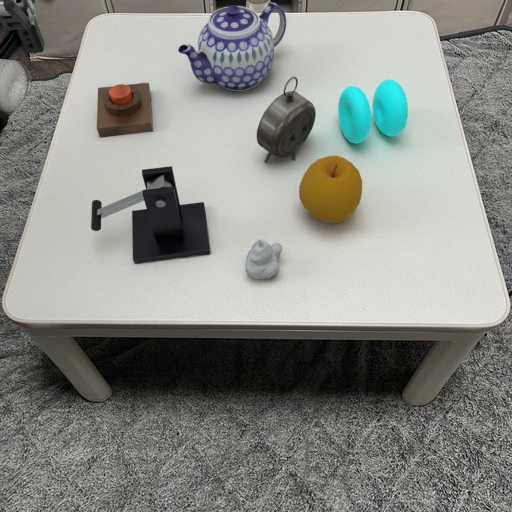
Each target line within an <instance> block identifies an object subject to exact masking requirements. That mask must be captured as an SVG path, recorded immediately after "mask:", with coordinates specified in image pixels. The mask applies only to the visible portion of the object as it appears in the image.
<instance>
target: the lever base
mask: <svg viewBox="0 0 512 512" xmlns="http://www.w3.org/2000/svg"><path fill="white" fill-rule="evenodd" d="M162 175H164V176H165V177H166V179H167V180H168V181H169V182H170V183H171V184H172V187H163V188H155V189H147V182H148V181H150V180H153V179H155V178H157V177H160V176H162ZM141 177H142V179H143V183H144V187H145V189H147V190H145V189H142V191H143V198H144V201H143V202H144V205H145V208H144V209H143V208H142V209H135V210H131V224H132V225H131V231H132V233H131V234H132V237H131V238H132V261H133V264H134V265H138V264H145V263H152V262H159V261H160V262H161V261H167V260H168V261H169V260H174V259H183V258H190V257H191V258H192V257H199V256H206V255H211V248H210V239H209V230H208V222H207V214H206V207H205V202H204V201H201V202H192V203H185V204H181V203H180V198H179V193H178V187H177V183H176V177H175V174H174V168H173V166H172V165H170V166H161V167H153V168H152V167H151V168H144V169H141Z"/></svg>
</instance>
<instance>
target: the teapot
mask: <svg viewBox="0 0 512 512" xmlns="http://www.w3.org/2000/svg"><path fill="white" fill-rule="evenodd" d="M275 10H276V11H277V14H278V17H279V25H278V29H277V31H276V34H275V35H274V37H273V33H272V30H271V28H270V26H269V25H268V24H269V19H270V16H271V14H272V12H274V11H275ZM286 29H287V15H286V13H285V11H284V9H283V8H282V7H281V5H279V4H277V3H276V2H269V3H267V5H266V6H265V7H264V8H263V10H262V11H261V14H258V13H257V12H256V11H254V10H253V9H252V8H249V7H246V6H242V5H237V4H231V5H228V6H224V7H221V8H219V9H216V10H215V11H213V12H211V14H210V15H209V18H208V21H207V23H205V24H204V26H203V27H202V28H201V30H200V31H199V35H198V40H197V50H196V47H193V46H192V45H191V44H189V43H184V44H181V45H180V46H178V49H177V50H178V53H179V54H181V55H182V54H183V55H186V56H187V58H188V61H189V64H190V69H191V71H192V73H193V75H194V77H195V78H196V80H197V81H199V82H200V83H203V84H208V85H209V84H211V85H212V84H213V85H214V84H215V85H218V86H219V87H221V88H223V89H224V90H228V91H231V92H246V91H249V90H251V89H254V88H255V87H257V86H258V85H259V84H260V83H261V82H262V80H264V79H265V78H266V77H267V75H269V73H270V71H271V68H272V66H273V62H274V57H275V48H276V47H277V46H278V45H279V44H280V43H281V41H282V40H283V38H284V37H285V36H284V35H285V33H286Z"/></svg>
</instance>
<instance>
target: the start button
mask: <svg viewBox="0 0 512 512" xmlns="http://www.w3.org/2000/svg"><path fill="white" fill-rule="evenodd" d="M127 85H128V84H123V83H121V84H120V83H119V84H116V85H115V84H114V85H113V87H112V88H111V89H110V90H109V94H110V98H111V101H112V103H114V104H116V105H124V104H127V103H129V102H130V101H131V100H132V93H131V89H130V87H129V86H127Z"/></svg>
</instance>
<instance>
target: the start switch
mask: <svg viewBox="0 0 512 512" xmlns="http://www.w3.org/2000/svg"><path fill="white" fill-rule="evenodd" d="M126 85H127V86H129V87H130V89H131V93H132V100H131V101H130V102H129V103H127V104H124V105H116V104H114V103H112V101H111V98H110V94H109V90H110V89H111V88H112V87H113V86H114V85H113V86H112V85H111V86H110V85H109V86H103V87H102V86H101V87H97V104H96V105H97V107H96V130H97V133H98V137H99V138H105V137H115V136H123V135H132V134H134V135H135V134H140V133H141V134H142V133H150V132H151V133H152V132H153V131H154V130H153V129H154V128H153V111H152V109H153V108H152V91H151V88H150V83H149V82H141V83H129V84H126Z"/></svg>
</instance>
